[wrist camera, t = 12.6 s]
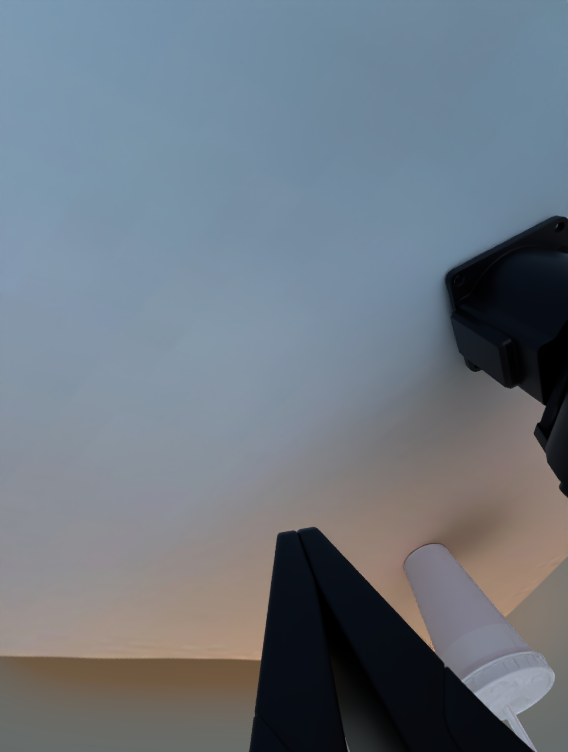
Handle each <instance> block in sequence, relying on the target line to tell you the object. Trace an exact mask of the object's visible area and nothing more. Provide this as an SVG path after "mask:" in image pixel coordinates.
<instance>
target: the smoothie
mask: <svg viewBox="0 0 568 752" xmlns="http://www.w3.org/2000/svg"><path fill="white" fill-rule="evenodd" d="M404 570H405V572H406V575H407V577H408V580H409V583H410V585H411V588H412V591H413V593H414V596H415V599H416V601H417V604H418V607H419V609H420V612H421V615H422V617H423V620H424V622H425V625H426V628H427V630H428V633H429V636H430V638H431V641H432V644H433V646H434V649H435V652H436V654H437V656H438V657H439V658H440V659H441V660H442V661H443V662H444V668H445V667H446V666H447V667H449V668H450V669H451V670H452V671H453V672H454V673H455V675H456V676H457V677H458V678H459V679H460V680H461V681H462V682H463V683H464V684H465V685H466V686H467V687H468V688H469V689H470V690H471V691H472V692H473V693H474V694H475V695H476V696H477V697H478V698H479V699H480V700H481V701H482V702H483V703H484V705H485V706H486V707H487V708H488V709H489V710H490V711H491V712H492V713H493V714H494V715H496V716H497V717H498V718H499V719H500V720H501V721H503V720H506V719H507V720H508V722H509V723H510V725H511V727H512V729H513V730H514V732H515V734H516V735H517V736H518V737H519V738H520V739H521V740H522V741H523V742H525V743H526V744H527V745H528V746H529V747H530V748H531V749H532V750H533V751H535V752H537V751H536V749H535V747H534V746H533V744H532V742H531V741H530V739H529V737H528V735H527V734H526V732H525V730H524V729H523V727H522V725H521V724H520V722H519V720H518V718H517V717H516V715H517V714H519V713H521V712H522V711H524V710H526V709H527V708H529V707H531V706H532V705H533V704H535V703H536V702H538V701H539V700H540V699H541V698H542V697H543V696H544V695H545V694H546V693H547V692H548V691H549V690H550V688H551V687H552V685H553V683H554V680H555V674H554V672H553V671H552V669H551V668H550V667H549V665H548V664H547V662H546V660H545V658H544V656H543V655H542V654H540V653H539V652H535V651H532V650H531V649H530V647H529V646H528V645H527V644H526V643H525V642H524V640H523V639H522V638H521V636H520V635H519V634H518V633H517V632H516V630H515V629H514V628H513V627H512V626H511V625H510V623H509V622H508V621H507V620H506V619H505V617H504V616H503V615H502V614H501V613H500V612H499V610H498V609H497V608H496V607H495V606H494V604H493V603H492V602H491V601H490V600H489V598H488V597H487V596H486V595H485V594H484V593H483V591H482V590H481V589H480V588H479V587H478V585H477V584H476V583H475V582H474V581H473V580H472V578H471V577H470V576H469V575H468V574H467V572H466V571H465V570H464V569H463V568H462V566H461V565H460V564H459V563H458V562H457V561H456V559H455V558H454V557H453V556H452V555H451V553H450V552H449V551H448V550H447V549H446V547H445V546H443V545H441V544H429V545H425V546H423V547H420V548H418V549H417V550H415V551H414V552H413V553H411V554H410V555H409V557H408V558H407V559H406V561H405V563H404Z"/></svg>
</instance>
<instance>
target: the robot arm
mask: <svg viewBox="0 0 568 752" xmlns="http://www.w3.org/2000/svg"><path fill="white" fill-rule="evenodd" d="M557 224H558V227H557V229H556V230H555V227H556V225H557ZM457 276H459V279H458V281H457V282H456V283H454V280H455V278H456V277H457ZM446 286H447V290H448V294H449V298H450V303H451V307H452V311H453V312H452V313H451V317H450V318H451V322H452V326H453V330H454V334H455V338H456V342H457V346H458V350H459V352H460V354H462V355H463V356H464V359H465V363H466V366H467V368H469V369H470V370H471V371H473V372H477V371H480V370H483V371H484V372H486V373H487V374H488V375H490V376H491V377H492V378H493V379H495V380H496V381H497V382H499V383H500V384H501V385H503V386H504V387H507V388H510V389H511V388H513V387H515V386H518V387H520V388H521V389H523V390H524V391H525V392H527V393H528V394H529V395H531V396H532V397H534V398H535V399H536V400H538V401H539V402H541V403H542V404H543V405H545V406H546V408H545V410H544V413H543V416H542V419H541V421H540V422H539V423H537V425H536V428H535V431H534V435H535V437H536V439H537V440H538V442H539V443H540V445H541V447H542V448H543V450H544V451H545V453H546V457H547V463H548V464H549V466H550V467H551V469H552V470H553V472H554V473H555V475H556V476H557V478H558V479H559V480H560V481H561V483H560V485H559V489H560V490H561V492H562V493H563V494H564V495H565V496H566V497H567V498H568V219H567V218H566V217H561V216H554V217H551V218H549V219H547V220H546V221H544V222H542V223H540V224H538V225H536V226H534V227H532V228H530V229H528V230H527V231H525V232H523V233H521V234H519V235H517V236H515V237H513V238H511V239H509V240H508V241H506V242H504V243H502V244H500V245H498V246H496V247H494V248H492V249H490V250H488V251H487V252H485V253H483V254H481V255H479V256H477V257H475V258H473V259H471V260H469V261H468V262H466V263H464V264H462V265H460V266H458V267H456V268H454V269H452V270H451V271H450V272H449V273H448V274H447V276H446ZM345 738H346V740H345ZM346 741H347V744H348V747H349V750H350V752H535V751H533V750H532V749H531V748H530V747H529V746H528V745H527V744H526V743H525V742H523V741H522V740H521V739H520V738H519V737H518V736H517V735H516V734H515V733H514V732H513V731H512V730H511V729H510V728H508V727H507V726H506V725H505V724H504V723H503V722H502V721H501V720H500V719H499V718H498V717H497V716H496V715H494V714H493V713H492V712H491V711H490V710H489V709H488V708H487V707H486V706H485V705H484V703H483V702H482V701H481V700H480V699H479V698H478V697H477V696H476V695H475V694H474V693H473V692H472V691H471V690H470V689H469V688H468V687H467V686H466V685H465V684H464V683H463V682H462V681H461V680H460V679H459V678H458V677H457V676H456V675H455V673H454V672H453V671H452V670H451V669H450V668H449V667H447V666H446V667H445V668H444V662H443V661H442V660H441V659H440V658H439V657H438V656H437V655H436V653H435V652H434V651H433V650H432V649H431V648H430V647H429V646H428V645H427V644H426V643H425V642H424V641H423V640H422V639H421V638H420V636H419V635H418V634H417V633H416V632H415V631H414V630H413V629H412V628H411V627H410V626H409V625H408V624H407V623H406V622H405V621H404V620H403V618H402V617H401V616H400V615H399V614H398V613H397V612H396V611H395V610H394V609H393V608H392V607H391V606H390V605H389V604H388V603H387V601H386V600H385V599H384V598H383V597H382V596H381V595H380V594H379V593H378V592H377V591H376V590H375V589H374V588H373V587H372V586H371V584H370V583H369V582H368V581H367V580H366V579H365V578H364V577H363V576H362V575H361V574H360V573H359V572H358V571H357V570H356V569H355V567H354V566H353V565H352V564H351V563H350V562H349V561H348V560H347V559H346V558H345V557H344V556H343V555H342V554H341V553H340V552H339V550H338V549H337V548H336V547H335V546H334V545H333V544H332V543H331V542H330V541H329V540H328V539H327V538H326V537H325V536H324V535H323V533H322V532H321V531H320V530H319V529H318V528H316V527H310V528H304V529H300V530H298V531H297V532H296V531H287V532H282V533H279V534H278V536H277V542H276V550H275V557H274V565H273V573H272V581H271V589H270V596H269V604H268V612H267V620H266V628H265V635H264V643H263V651H262V659H261V667H260V674H259V682H258V690H257V698H256V706H255V717H254V720H253V727H252V735H251V743H250V750H249V752H348V750H347V745H346Z"/></svg>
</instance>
